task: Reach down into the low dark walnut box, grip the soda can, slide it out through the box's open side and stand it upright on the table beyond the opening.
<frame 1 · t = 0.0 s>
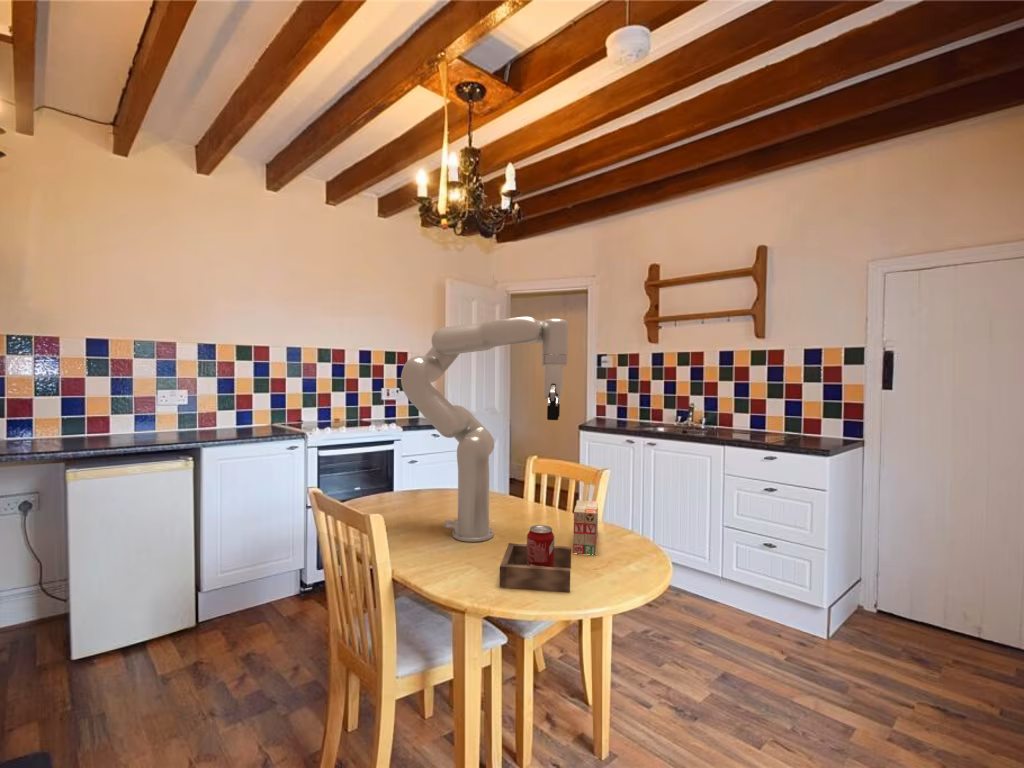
hand: (553, 418, 153), 37 cm above the table, tool pointing down, fingers open, 9 cm apart
open-side box: (546, 576, 128), on the table
soda can: (540, 576, 128), resting in open-side box
stack of blocks: (586, 543, 153), on the table
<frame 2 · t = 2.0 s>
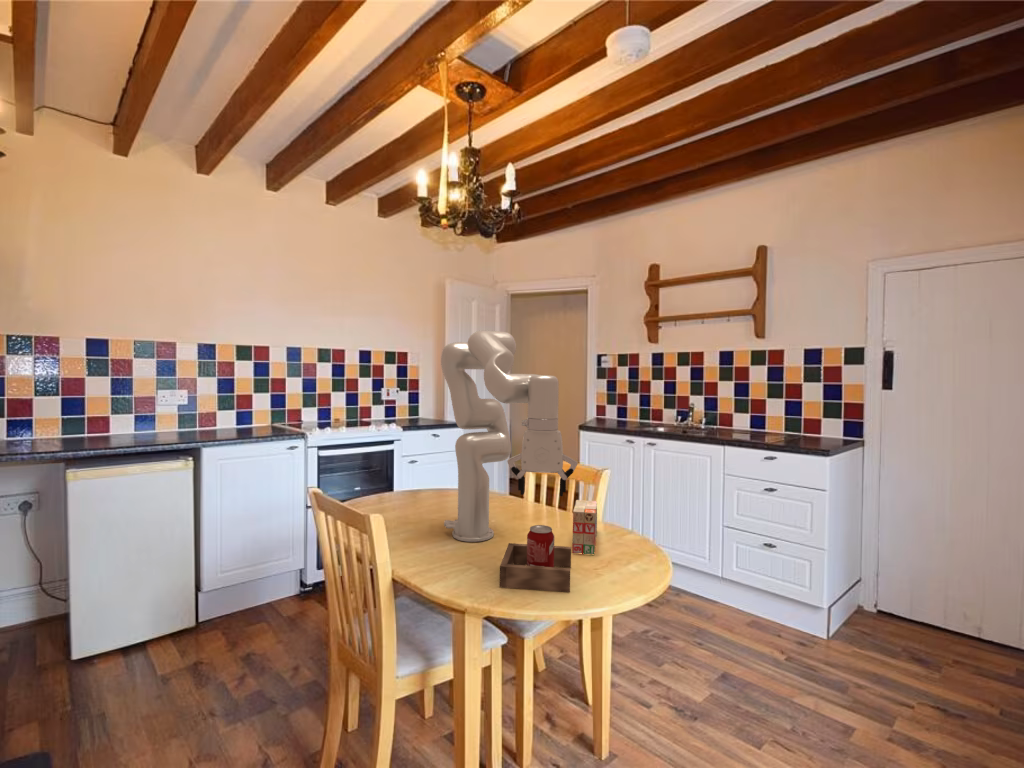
hand: (541, 494, 127), 21 cm above the table, tool pointing down, fingers open, 9 cm apart
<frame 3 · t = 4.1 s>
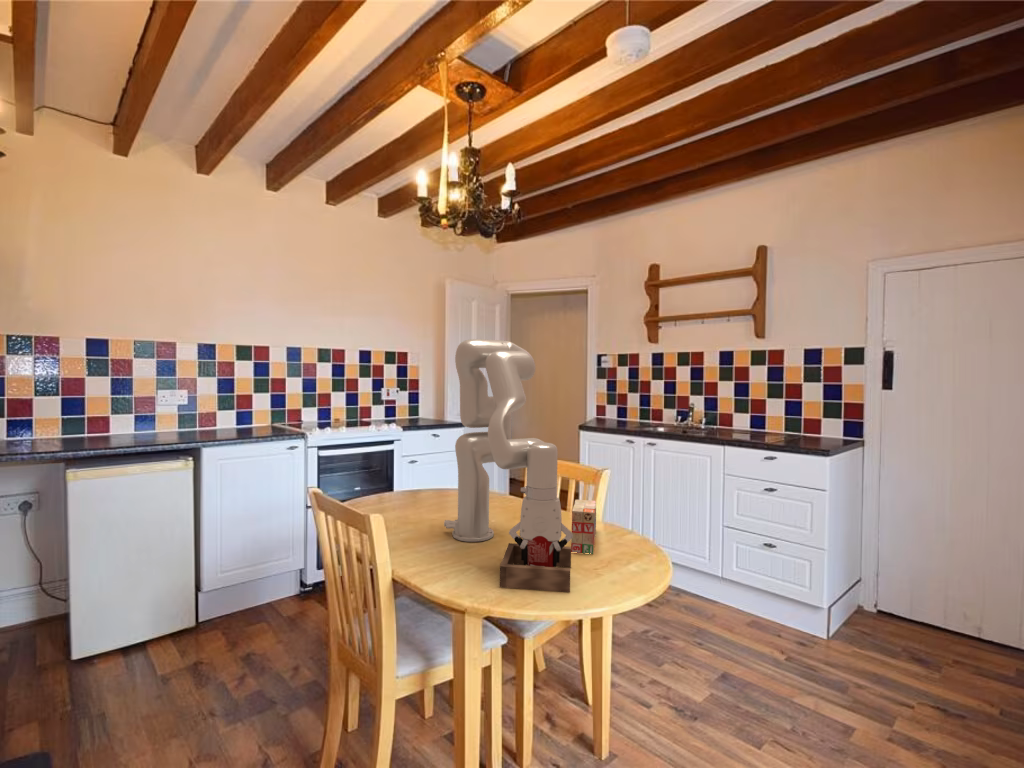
hand: (540, 563, 128), 3 cm above the table, tool pointing down, fingers closed on soda can, 6 cm apart
soda can: (540, 576, 128), resting in open-side box, touching gripper
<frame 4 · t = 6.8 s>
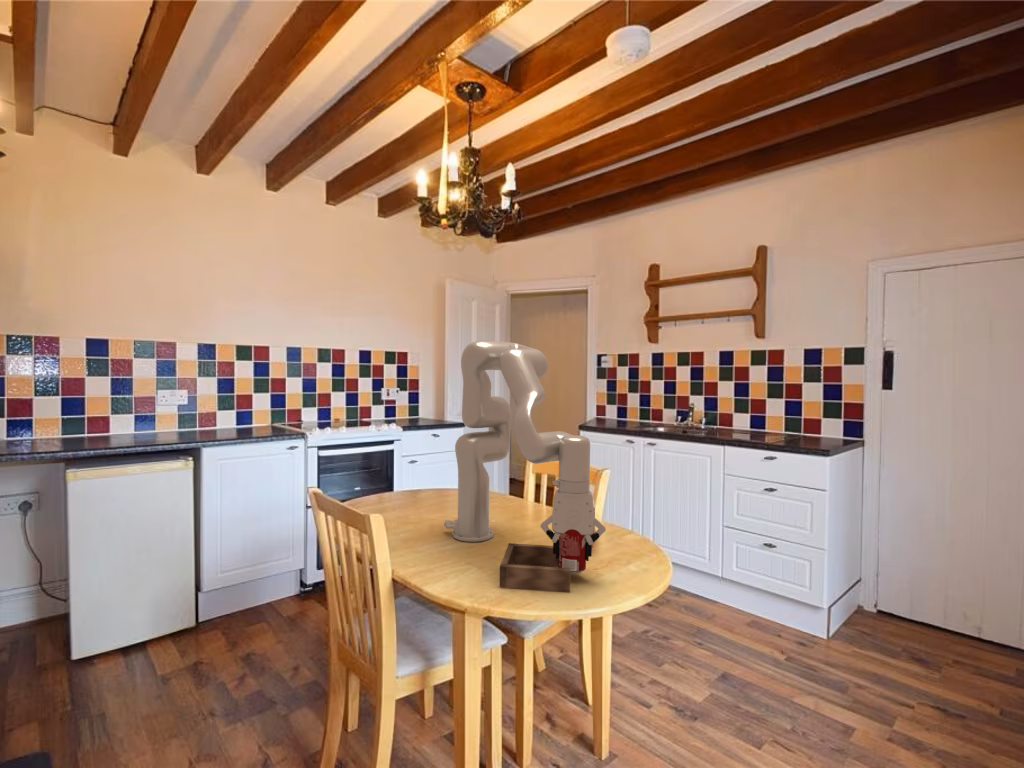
hand: (572, 557, 127), 5 cm above the table, tool pointing down, fingers closed on soda can, 6 cm apart
soda can: (571, 570, 127), point 2 cm above the table, touching gripper
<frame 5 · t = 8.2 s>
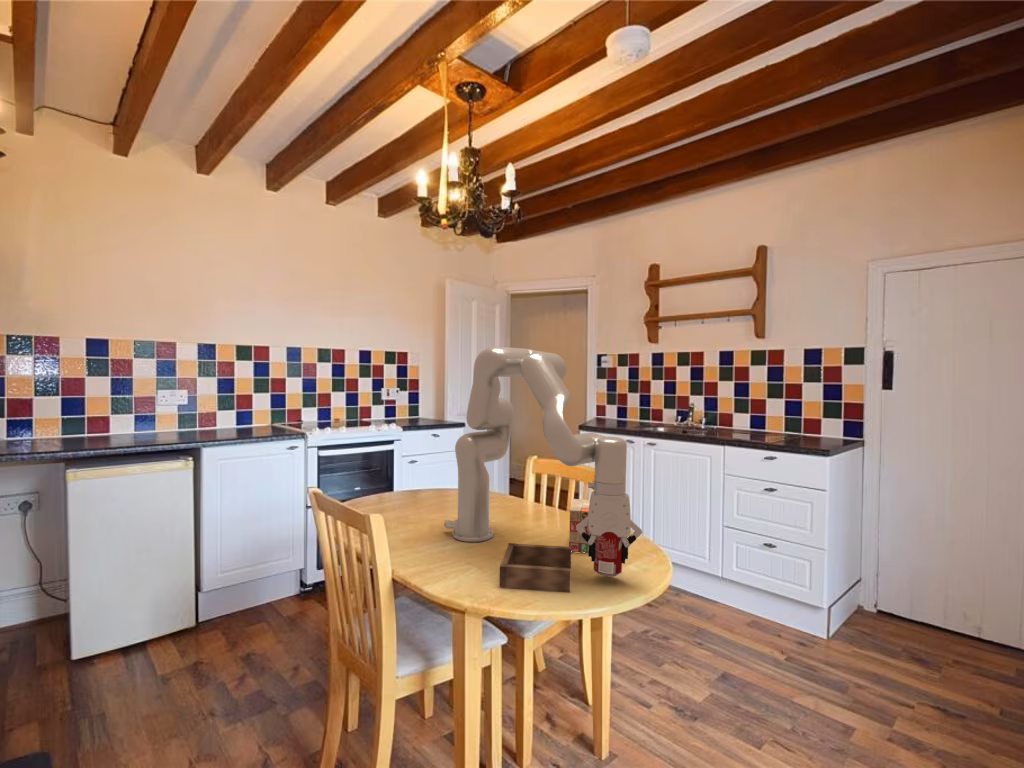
hand: (607, 559, 126), 5 cm above the table, tool pointing down, fingers closed on soda can, 6 cm apart
soda can: (607, 573, 126), point 2 cm above the table, touching gripper
when the fingers open (4 cm above the table, at t = 9.4 s): soda can stays where it is, on the table.
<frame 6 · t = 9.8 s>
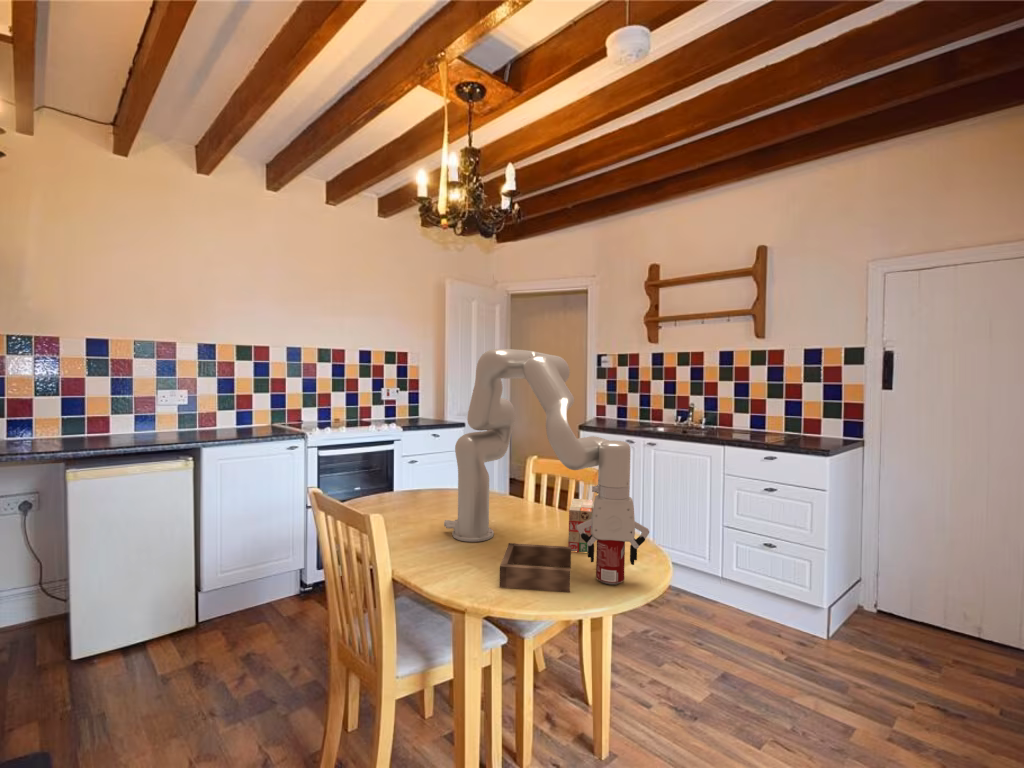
hand: (611, 561, 126), 5 cm above the table, tool pointing down, fingers open, 9 cm apart
soda can: (610, 581, 126), on the table
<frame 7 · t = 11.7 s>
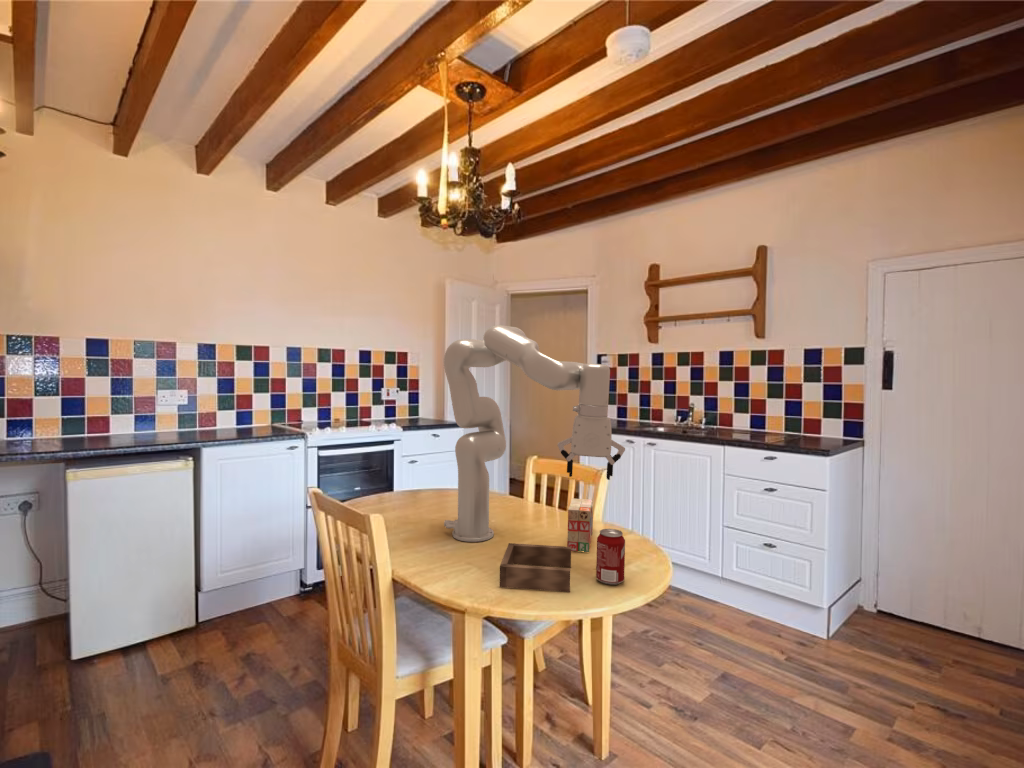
hand: (589, 477, 134), 24 cm above the table, tool pointing down, fingers open, 9 cm apart
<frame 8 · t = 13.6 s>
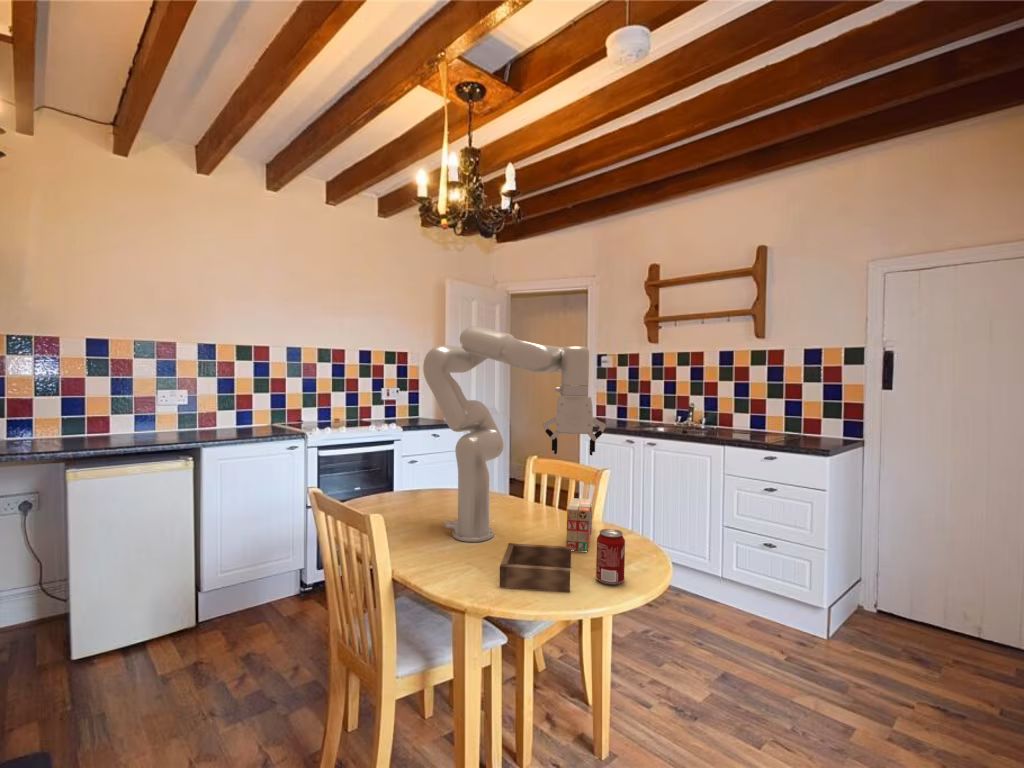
hand: (573, 454, 141), 28 cm above the table, tool pointing down, fingers open, 9 cm apart
at the end: soda can inside the target area (0.4 cm from its centre), on the table; soda can tilted 0°; the gripper is holding nothing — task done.
